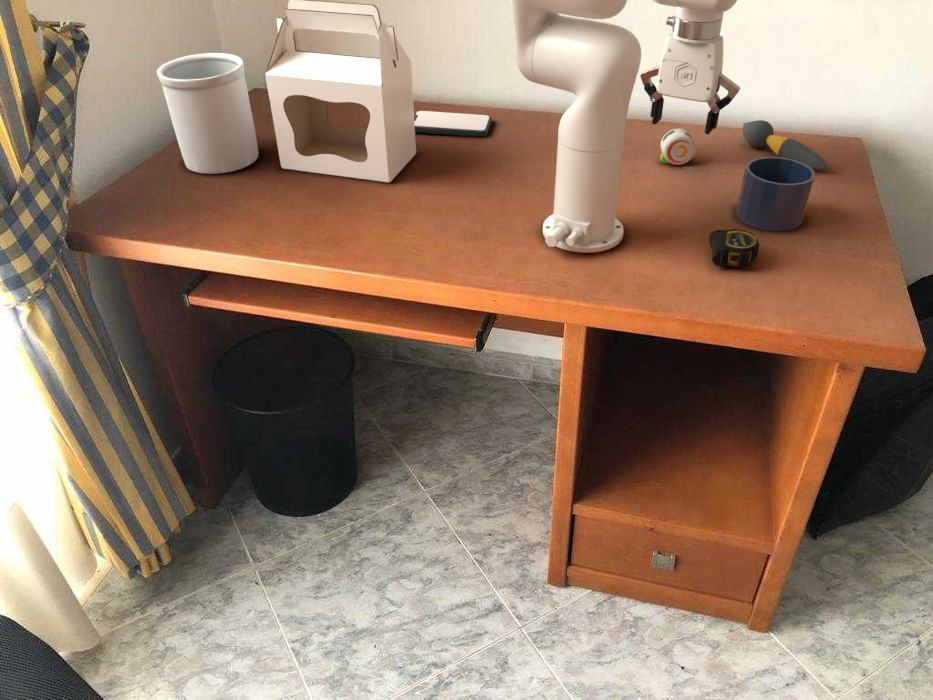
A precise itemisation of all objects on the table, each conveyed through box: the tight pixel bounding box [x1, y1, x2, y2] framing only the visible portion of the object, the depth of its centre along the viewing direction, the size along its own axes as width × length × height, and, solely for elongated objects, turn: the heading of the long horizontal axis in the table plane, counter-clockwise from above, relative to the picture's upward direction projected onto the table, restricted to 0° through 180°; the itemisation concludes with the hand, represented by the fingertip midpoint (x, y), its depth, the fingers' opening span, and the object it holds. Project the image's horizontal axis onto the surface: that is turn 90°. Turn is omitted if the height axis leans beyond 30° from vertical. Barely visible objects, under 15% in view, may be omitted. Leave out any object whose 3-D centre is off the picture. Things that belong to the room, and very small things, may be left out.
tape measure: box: [708, 228, 760, 268], centre depth 115 cm, size 7×7×4 cm
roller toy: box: [659, 127, 697, 166], centre depth 142 cm, size 4×6×6 cm
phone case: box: [414, 110, 493, 138], centre depth 158 cm, size 9×2×16 cm
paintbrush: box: [742, 119, 827, 171], centre depth 144 cm, size 20×5×5 cm, turn 38°
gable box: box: [264, 0, 417, 184], centre depth 137 cm, size 22×13×28 cm, turn 72°
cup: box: [735, 156, 816, 232], centre depth 124 cm, size 10×10×8 cm
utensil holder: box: [156, 52, 259, 175], centre depth 142 cm, size 15×15×18 cm
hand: (682, 126), depth 140 cm, fingers open, 9 cm apart
